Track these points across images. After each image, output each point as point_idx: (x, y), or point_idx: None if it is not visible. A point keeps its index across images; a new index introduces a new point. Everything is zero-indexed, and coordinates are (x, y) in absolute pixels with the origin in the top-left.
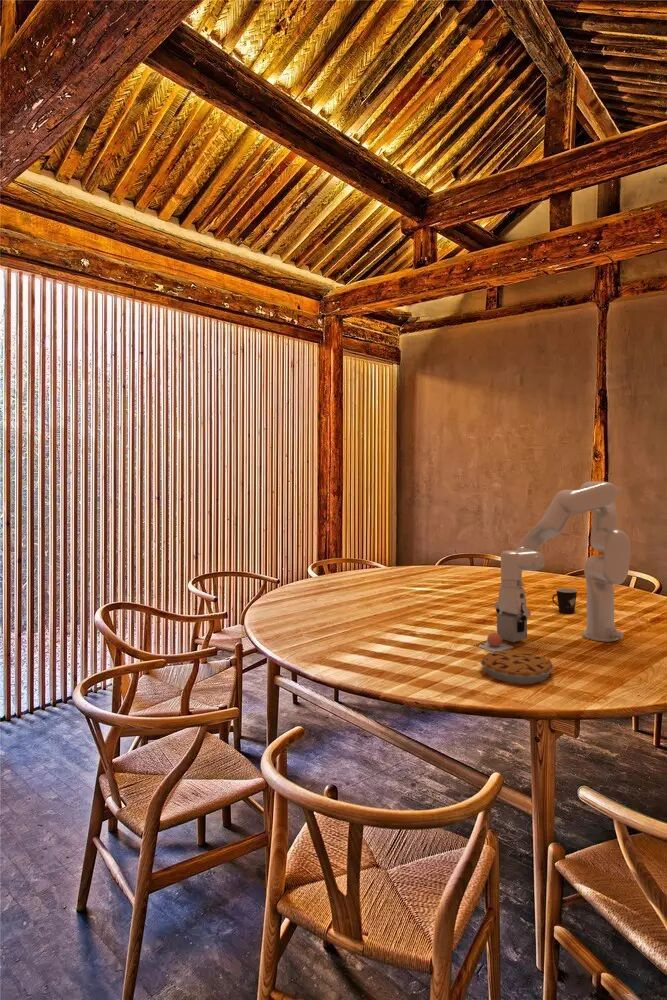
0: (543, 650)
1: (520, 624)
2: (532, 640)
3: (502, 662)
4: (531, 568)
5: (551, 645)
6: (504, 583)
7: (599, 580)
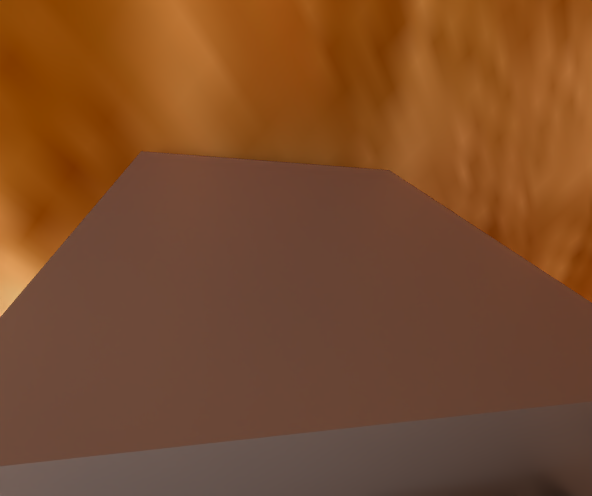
0: (538, 235)
1: None
2: (383, 54)
3: None
4: None
5: (580, 64)
6: None
7: None
